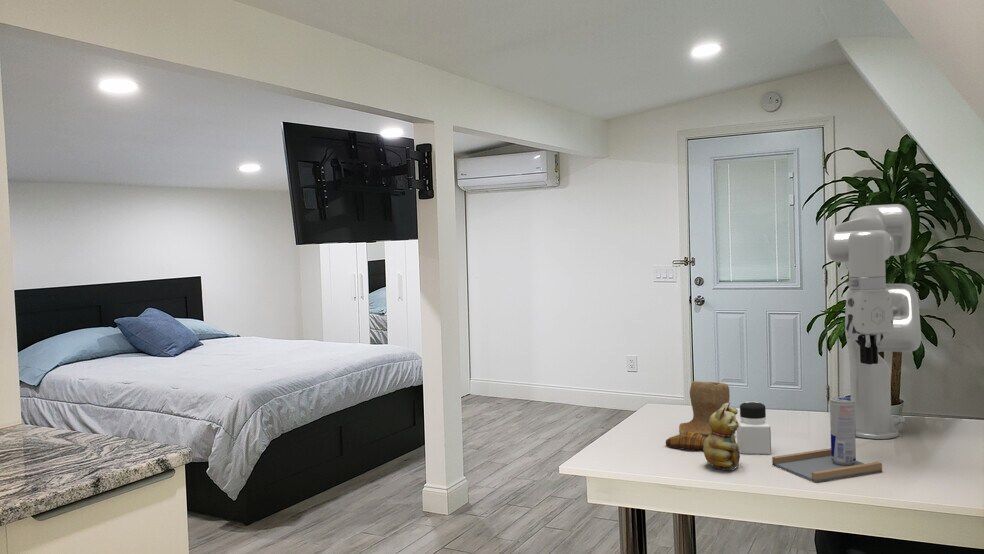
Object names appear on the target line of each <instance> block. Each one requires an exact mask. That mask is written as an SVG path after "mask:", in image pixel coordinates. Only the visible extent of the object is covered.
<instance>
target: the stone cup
mask: <svg viewBox="0 0 984 554" xmlns="http://www.w3.org/2000/svg"><path fill="white" fill-rule="evenodd" d="M689 397H690V402H691V408H692V414H693V416H692V419H691V420H690V421H688V422H682V423H679V426H678V432H679V435H681V434H683V433H685V432H688V431H691V430H692V431H694V432H697V433H699V434H701V435H702V436H704V437H708V436H709V435H710V431H711V430H712V429H711V427H710V425H709V419H710V416H711V415H712V414H713V413H714V412H717V410H719V409H720V408H721V407H722V405H723V404H725V403H730V387H729V385H728V384H727V383H725V382H719V381H718V382H716V381H699V380H694V381H692V382H691V385H690V388H689ZM735 434H736V431H735V432H734V433H733V436H734V435H735Z"/></svg>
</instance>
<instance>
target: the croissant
mask: <svg viewBox="0 0 984 554" xmlns="http://www.w3.org/2000/svg"><path fill="white" fill-rule="evenodd" d="M706 438H707V437H704V436H702V435H701V434H699V433H697V432H694V431H692V430H691V431H688V432H685V433H683V434H681V435H680V434H677V435H676V434H675V435H674V436H671V437H669V438H667V439H665V445H666V447H669V448H674V449H679V450H680V449H681V450H687V451H703V448H704V443H705V440H706Z"/></svg>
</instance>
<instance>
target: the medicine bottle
mask: <svg viewBox="0 0 984 554" xmlns="http://www.w3.org/2000/svg"><path fill="white" fill-rule="evenodd" d="M766 416H767V413H766V405H765V404H763V403H761V402H758V401H745V402H743V403H741V404H739V418H738V419H737V418H736V420H737V422H738V424H739V425H738V428H737V430H736V443H737V444H738V445H739V451H740V455H771V454H772V441H771V440H772V438H771V437H772V435H771V425H770V424H769V423H768V421H767V417H766Z"/></svg>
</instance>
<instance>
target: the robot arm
mask: <svg viewBox="0 0 984 554" xmlns="http://www.w3.org/2000/svg"><path fill="white" fill-rule="evenodd" d="M828 233H829V234H828V238H827V242H826V246H827V247H826V250H827V254H828V255H827V256H828V257H829V259H830V260H831V261H832V262H835V263H844V265H845V268H846V269H847V271H848V281H847V282H846V283H847V284H846V285H847V287H849V291H847V295H846V300H845V309H844V312H845V313H844V314H845V315H844V325H845V326H844V328H845V329H844V331H845V338H846V344H847V350H848V358H849V359H848V360H849V383H850V385H849V388H850V398H851V399H854V403H855V437H857V438H863V439H874V440H886V439H887V440H888V439H893V438H896V437H899V430H898V429H897V428H895V426H896V425H903V424H905V422H906V418H905V417H904V416H902V415H901V416H894V415H892V396H891V392H892V391H891V390H892V389H891V388H892V387H891V368H890V366H889V364H888V362H887V361H886V360H885V359H884V358H883V357H882V356H881V355H880V354H879V353H880V352H886V353H887V352H888V353H889V352H894V353H895V352H897V353H907V352H908V353H910V352H911V353H912V352H915V351H917V350H918V349H919V348H920V346H921V343H922V342H921V341H922V327H921V316H920V307H919V306H920V303H919V297H918V293H917V290H916V289H915V288H914V287H913V286H912V285H910V284H908V283H886V282H887V281H886V278H887V277H886V261H887V260H888V259H889V258H891V256H901V255H905V254H907V253H908V252H909V249H910V248H911V241H912V239H911V238H912V218H911V213H910V211H909V209H908V208H907V207H906V206H905V205H904V204H900V203H891V204H872V205H865V206H860V207H858V208H856V209H855V210H853V211H852V212H851V214H850V216H849V219H848V220H847V221H845V222H842V223H838V224H836V225H834V226H833V227H832V228H831V229H830V230H829V232H828Z"/></svg>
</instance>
